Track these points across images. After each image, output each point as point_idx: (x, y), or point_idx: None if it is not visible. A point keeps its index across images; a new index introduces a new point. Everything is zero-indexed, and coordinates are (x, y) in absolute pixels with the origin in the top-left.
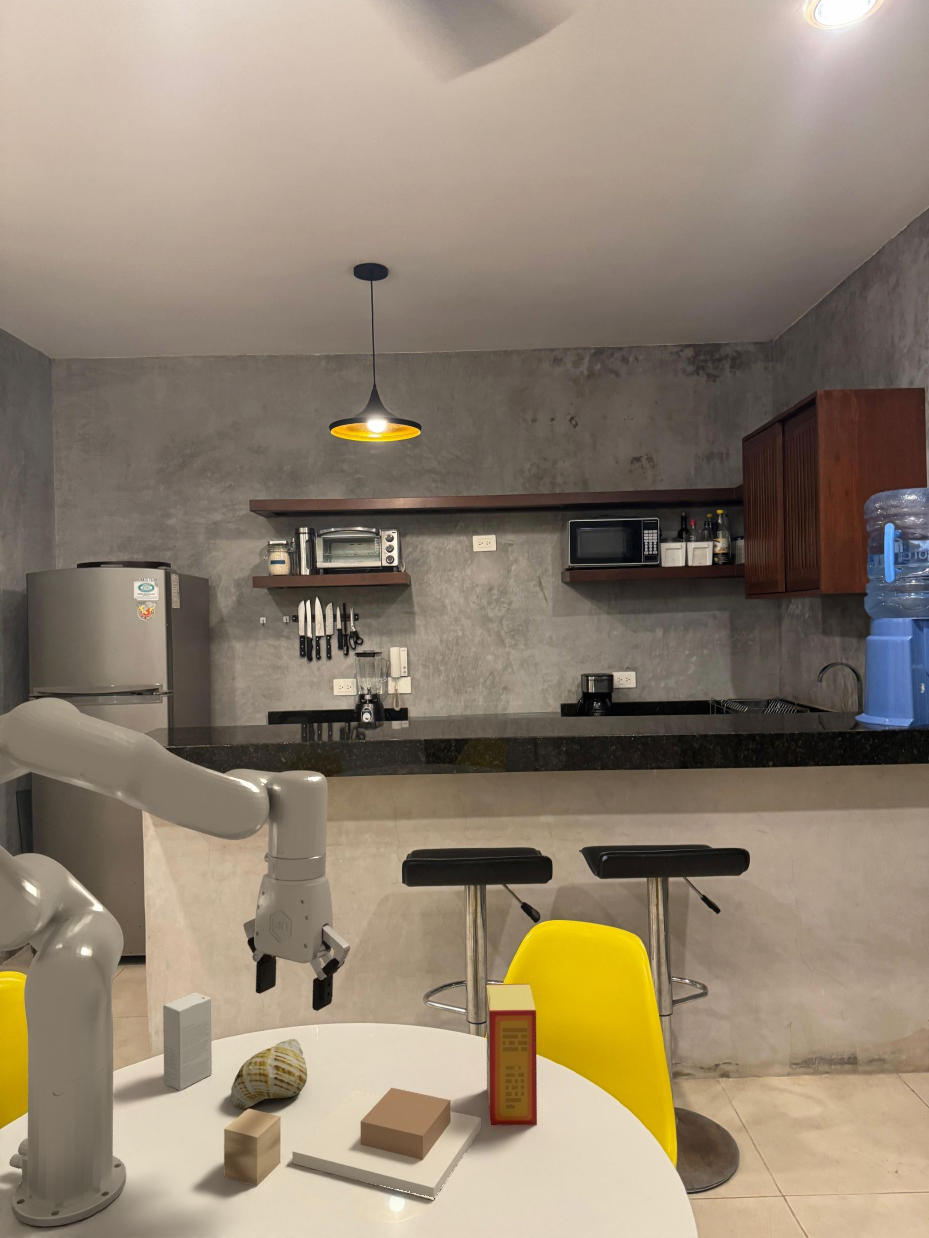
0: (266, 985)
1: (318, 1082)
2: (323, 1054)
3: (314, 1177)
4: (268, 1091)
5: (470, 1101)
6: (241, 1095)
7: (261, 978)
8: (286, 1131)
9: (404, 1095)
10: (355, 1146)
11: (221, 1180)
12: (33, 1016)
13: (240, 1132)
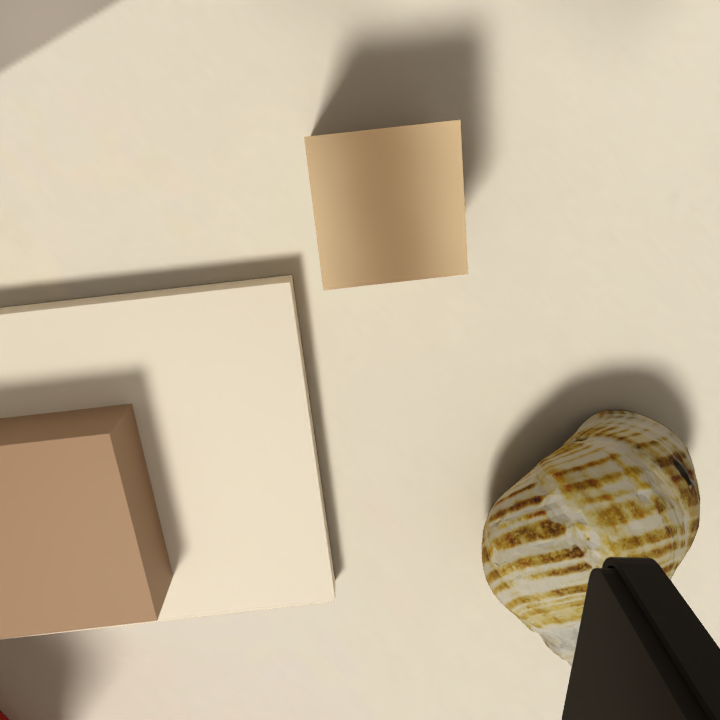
0: (596, 670)
1: (483, 604)
2: (558, 709)
3: (188, 252)
4: (543, 463)
5: (54, 707)
6: (624, 424)
7: (659, 692)
8: (412, 385)
9: (91, 604)
10: (137, 388)
11: (427, 105)
12: None
13: (385, 130)
